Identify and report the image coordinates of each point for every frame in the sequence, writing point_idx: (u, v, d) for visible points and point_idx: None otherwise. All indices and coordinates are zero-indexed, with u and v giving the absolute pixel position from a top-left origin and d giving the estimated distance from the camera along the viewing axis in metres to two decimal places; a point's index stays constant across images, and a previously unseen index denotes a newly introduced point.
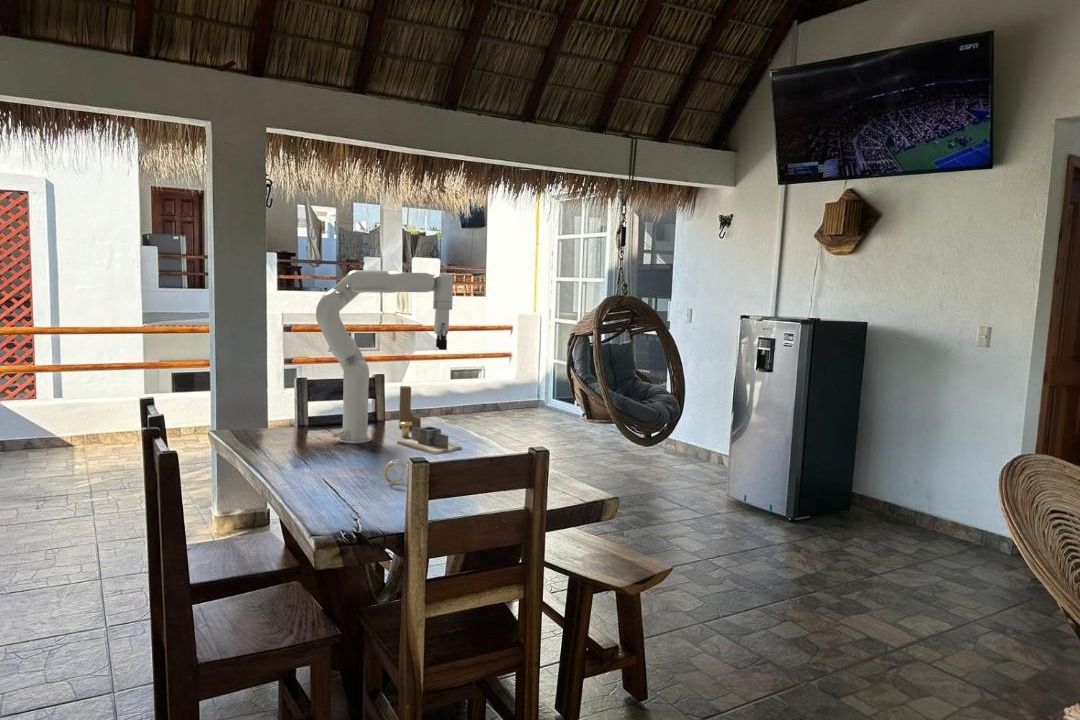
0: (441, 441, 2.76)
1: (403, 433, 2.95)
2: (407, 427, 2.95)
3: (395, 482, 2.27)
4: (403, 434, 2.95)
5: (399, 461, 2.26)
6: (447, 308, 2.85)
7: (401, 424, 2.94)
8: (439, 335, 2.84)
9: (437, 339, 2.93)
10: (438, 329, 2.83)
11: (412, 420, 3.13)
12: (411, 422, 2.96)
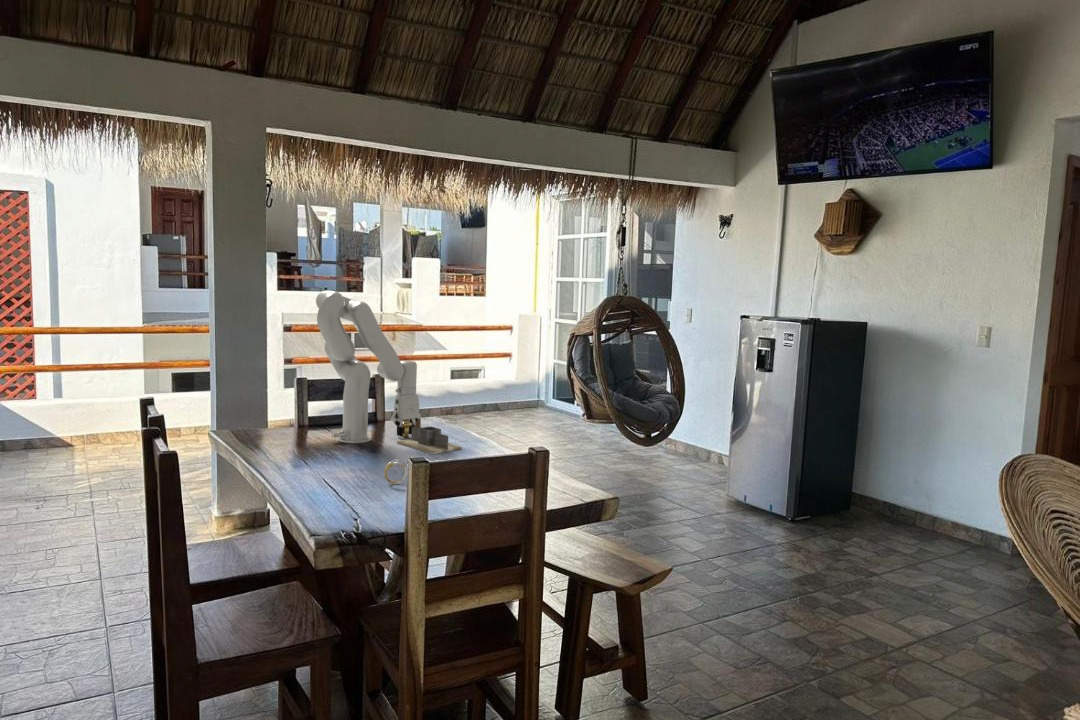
0: (441, 441, 2.76)
1: (403, 433, 2.95)
2: (407, 427, 2.95)
3: (395, 482, 2.27)
4: (403, 434, 2.95)
5: (399, 461, 2.26)
6: None
7: None
8: (413, 420, 2.97)
9: None
10: None
11: None
12: (411, 422, 2.96)
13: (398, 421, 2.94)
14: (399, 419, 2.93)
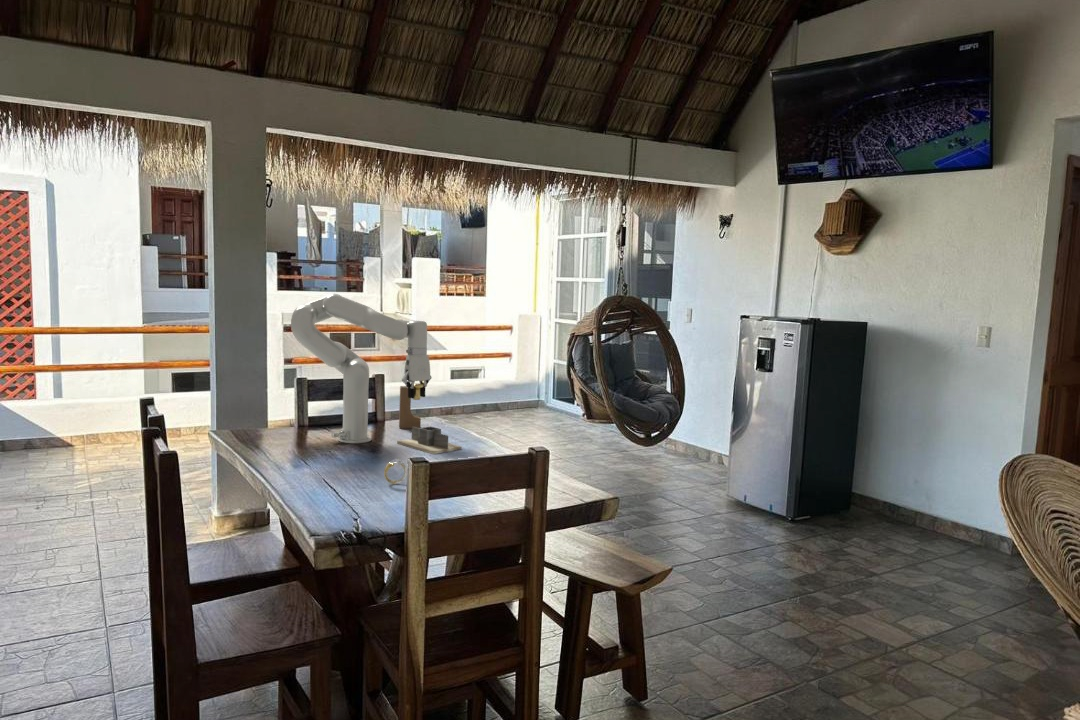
0: (441, 441, 2.76)
1: None
2: (418, 389, 2.88)
3: (395, 482, 2.27)
4: None
5: (399, 461, 2.26)
6: None
7: None
8: (424, 382, 2.90)
9: None
10: None
11: (412, 420, 3.13)
12: (422, 384, 2.89)
13: (409, 383, 2.87)
14: (410, 380, 2.85)
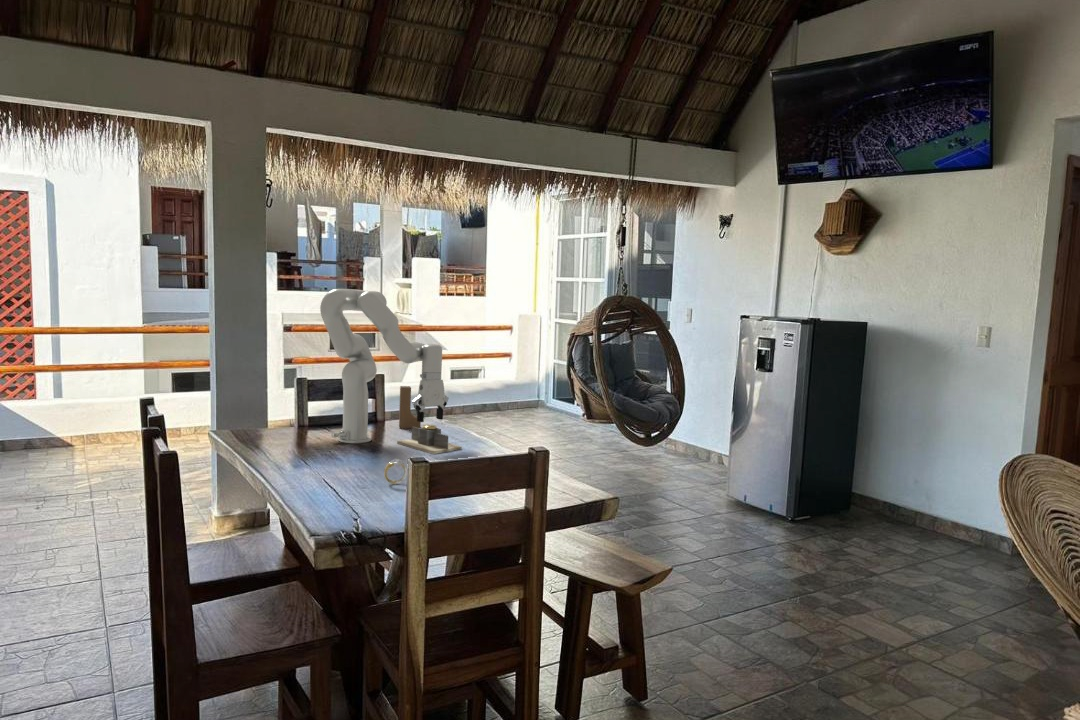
0: (441, 441, 2.76)
1: None
2: None
3: (395, 482, 2.27)
4: None
5: (399, 461, 2.26)
6: None
7: (425, 428, 2.78)
8: (441, 405, 2.82)
9: None
10: None
11: (412, 420, 3.13)
12: (435, 425, 2.81)
13: (419, 406, 2.77)
14: (421, 404, 2.76)
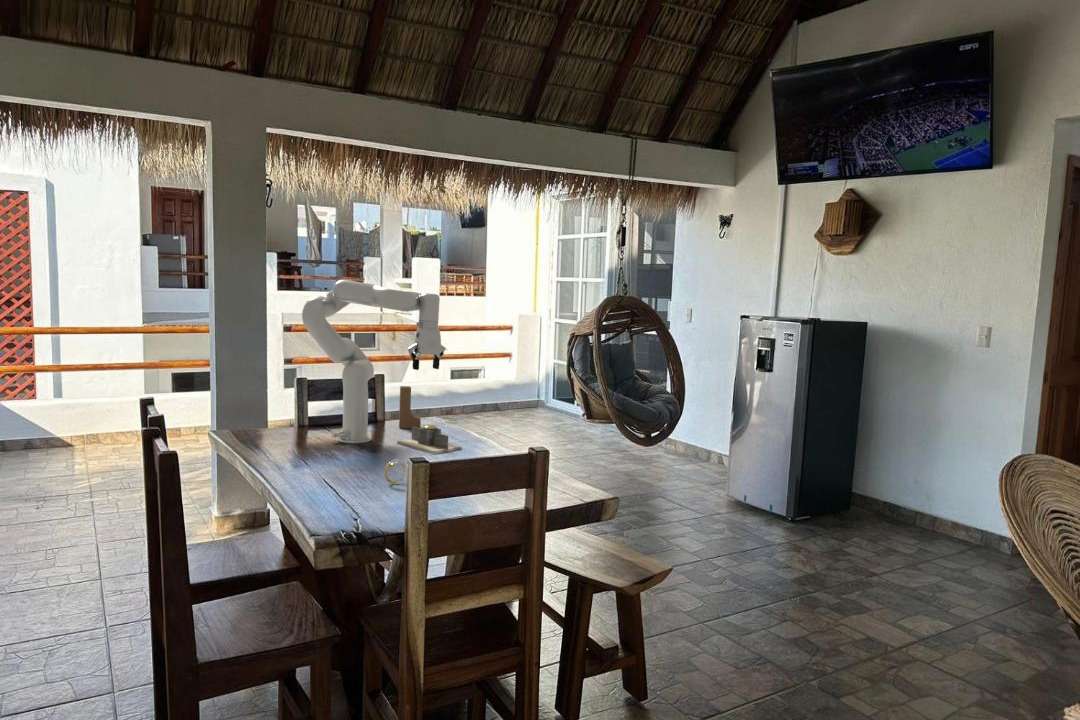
0: (441, 441, 2.76)
1: None
2: None
3: (395, 482, 2.27)
4: None
5: (399, 461, 2.26)
6: None
7: (425, 428, 2.78)
8: (438, 355, 2.84)
9: None
10: None
11: (412, 420, 3.13)
12: (435, 425, 2.81)
13: (415, 354, 2.79)
14: (417, 352, 2.78)
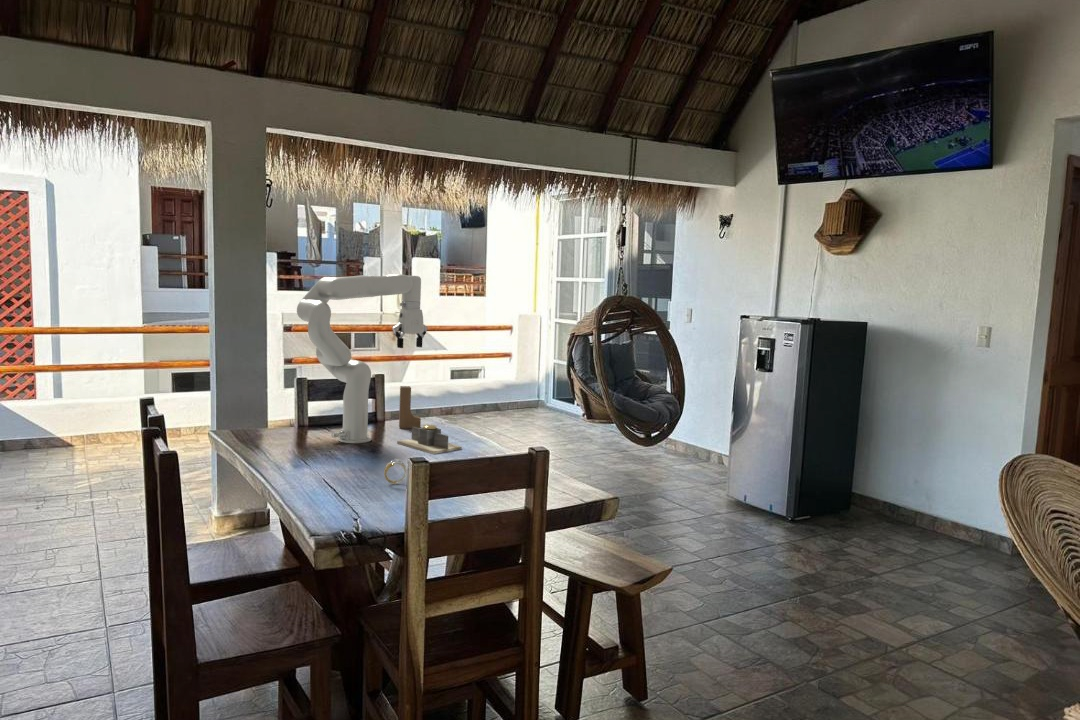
0: (441, 441, 2.76)
1: None
2: None
3: (395, 482, 2.27)
4: None
5: (399, 461, 2.26)
6: None
7: (425, 428, 2.78)
8: (421, 334, 3.00)
9: None
10: None
11: (412, 420, 3.13)
12: (435, 425, 2.81)
13: (399, 334, 2.95)
14: (401, 331, 2.94)
